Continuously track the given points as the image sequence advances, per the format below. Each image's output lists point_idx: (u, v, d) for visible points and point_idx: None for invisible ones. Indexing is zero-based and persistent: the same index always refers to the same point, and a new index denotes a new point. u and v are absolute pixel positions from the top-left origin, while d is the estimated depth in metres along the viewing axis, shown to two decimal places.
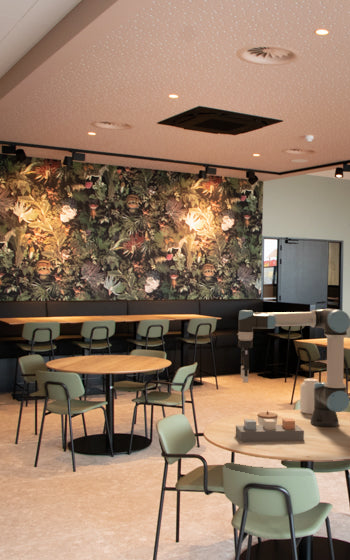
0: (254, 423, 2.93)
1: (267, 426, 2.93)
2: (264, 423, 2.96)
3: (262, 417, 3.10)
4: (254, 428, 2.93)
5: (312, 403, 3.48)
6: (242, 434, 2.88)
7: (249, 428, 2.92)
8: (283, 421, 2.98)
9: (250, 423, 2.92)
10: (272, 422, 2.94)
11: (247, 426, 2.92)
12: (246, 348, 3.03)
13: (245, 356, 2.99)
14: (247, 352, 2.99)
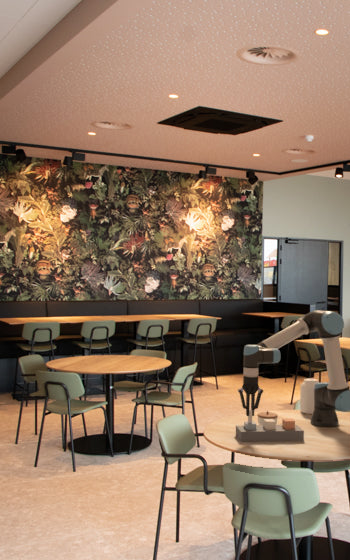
0: (254, 425, 2.93)
1: (267, 426, 2.93)
2: (264, 423, 2.96)
3: (262, 417, 3.10)
4: None
5: (312, 403, 3.48)
6: (242, 434, 2.88)
7: None
8: (283, 421, 2.98)
9: (250, 425, 2.92)
10: (272, 422, 2.94)
11: (247, 428, 2.92)
12: (243, 384, 2.94)
13: (240, 396, 2.95)
14: (239, 392, 2.93)
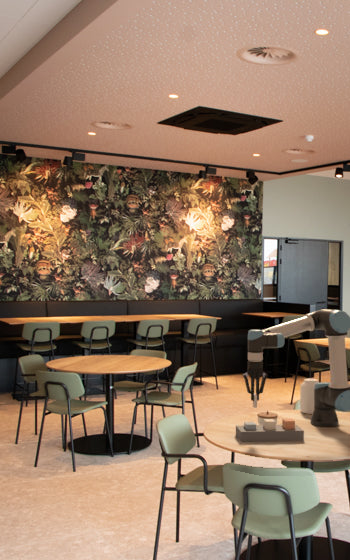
0: (254, 426, 2.93)
1: (267, 426, 2.93)
2: (264, 423, 2.96)
3: (262, 417, 3.10)
4: None
5: (313, 403, 3.48)
6: (242, 434, 2.88)
7: None
8: (283, 421, 2.98)
9: (250, 426, 2.92)
10: (272, 422, 2.94)
11: (247, 429, 2.92)
12: (248, 368, 2.94)
13: (245, 380, 2.95)
14: None
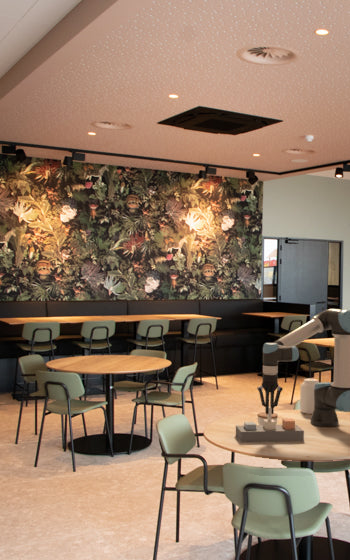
0: (254, 426, 2.93)
1: (267, 426, 2.93)
2: (264, 423, 2.96)
3: (262, 417, 3.10)
4: None
5: (313, 403, 3.48)
6: (242, 434, 2.88)
7: None
8: (283, 421, 2.98)
9: (250, 426, 2.92)
10: (272, 422, 2.94)
11: (247, 429, 2.92)
12: (263, 381, 2.95)
13: None
14: (258, 390, 2.95)
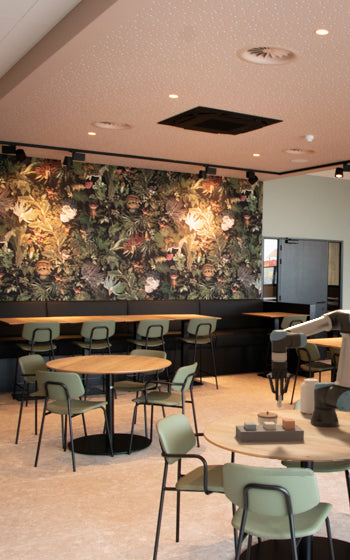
0: (254, 426, 2.93)
1: (267, 429, 2.93)
2: (264, 426, 2.96)
3: (262, 417, 3.10)
4: None
5: (312, 403, 3.48)
6: (242, 434, 2.88)
7: None
8: (283, 421, 2.98)
9: (250, 426, 2.92)
10: (272, 425, 2.94)
11: (247, 429, 2.92)
12: (272, 369, 2.96)
13: (269, 381, 2.96)
14: (268, 377, 2.95)
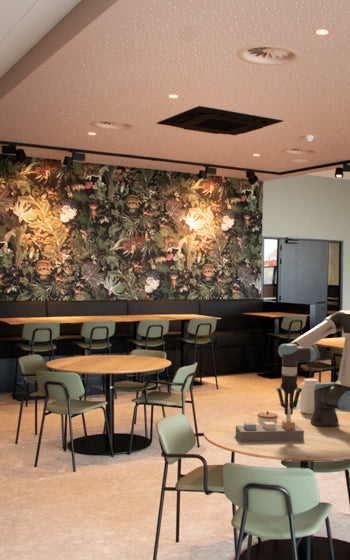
0: (254, 426, 2.93)
1: (267, 429, 2.93)
2: (264, 426, 2.96)
3: (262, 417, 3.10)
4: None
5: (312, 403, 3.48)
6: (242, 434, 2.88)
7: None
8: (283, 422, 2.98)
9: (250, 426, 2.92)
10: (272, 425, 2.94)
11: (247, 429, 2.92)
12: (282, 382, 2.96)
13: (279, 394, 2.97)
14: None
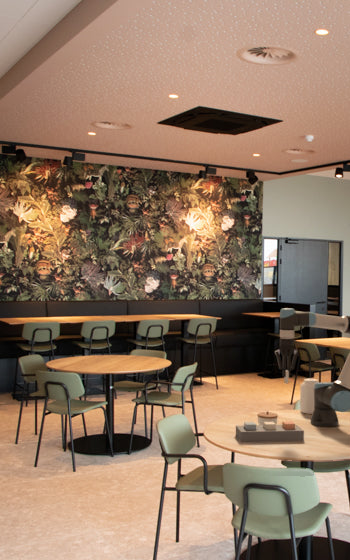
0: (254, 426, 2.93)
1: (267, 429, 2.93)
2: (264, 426, 2.96)
3: (262, 417, 3.10)
4: None
5: (312, 403, 3.48)
6: (242, 434, 2.88)
7: None
8: (283, 424, 2.98)
9: (250, 426, 2.92)
10: (272, 425, 2.94)
11: (247, 429, 2.92)
12: (280, 345, 3.04)
13: (277, 357, 3.05)
14: (276, 353, 3.04)
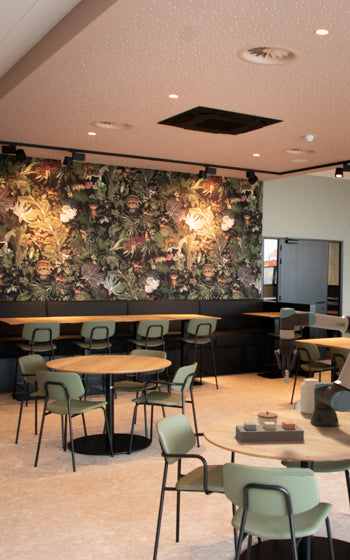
0: (254, 426, 2.93)
1: (267, 429, 2.93)
2: (264, 426, 2.96)
3: (262, 417, 3.10)
4: None
5: (313, 403, 3.48)
6: (242, 434, 2.88)
7: None
8: (283, 424, 2.98)
9: (250, 426, 2.92)
10: (272, 425, 2.94)
11: (247, 429, 2.92)
12: (280, 345, 3.04)
13: (277, 357, 3.05)
14: (275, 353, 3.04)
